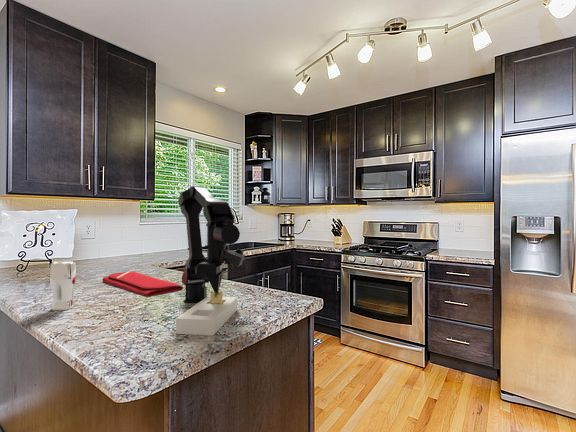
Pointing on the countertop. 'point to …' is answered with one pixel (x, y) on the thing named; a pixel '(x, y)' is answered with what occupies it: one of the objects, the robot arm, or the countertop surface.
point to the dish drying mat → (141, 283)
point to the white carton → (62, 284)
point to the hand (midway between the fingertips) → (216, 291)
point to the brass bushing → (216, 297)
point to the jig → (206, 317)
